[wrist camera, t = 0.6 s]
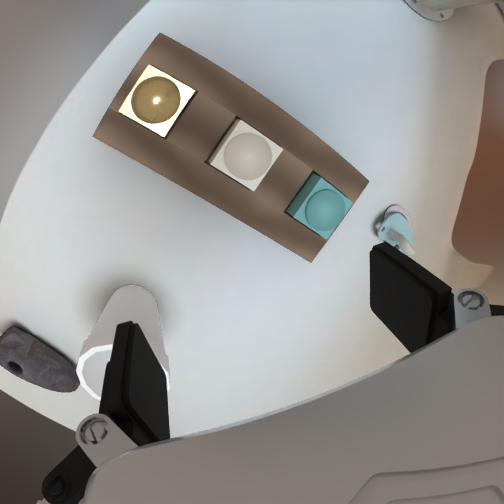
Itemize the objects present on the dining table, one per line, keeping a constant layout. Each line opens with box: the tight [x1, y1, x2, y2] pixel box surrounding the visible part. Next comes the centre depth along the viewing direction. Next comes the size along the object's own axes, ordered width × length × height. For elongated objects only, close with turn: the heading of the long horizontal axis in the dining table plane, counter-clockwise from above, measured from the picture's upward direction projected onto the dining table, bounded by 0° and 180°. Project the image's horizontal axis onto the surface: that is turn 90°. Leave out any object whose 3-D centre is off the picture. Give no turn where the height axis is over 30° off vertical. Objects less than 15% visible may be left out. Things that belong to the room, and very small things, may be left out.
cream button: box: [208, 119, 283, 191], centre depth 29 cm, size 5×5×4 cm
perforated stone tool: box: [0, 326, 80, 392], centre depth 34 cm, size 15×5×7 cm, turn 47°
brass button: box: [119, 65, 195, 137], centre depth 25 cm, size 5×5×4 cm
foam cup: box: [76, 285, 170, 401], centre depth 32 cm, size 10×9×13 cm
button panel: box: [93, 33, 369, 262], centre depth 31 cm, size 12×28×3 cm, turn 55°
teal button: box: [285, 173, 353, 239], centre depth 33 cm, size 5×5×4 cm
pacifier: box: [377, 205, 415, 255], centre depth 39 cm, size 7×6×6 cm
